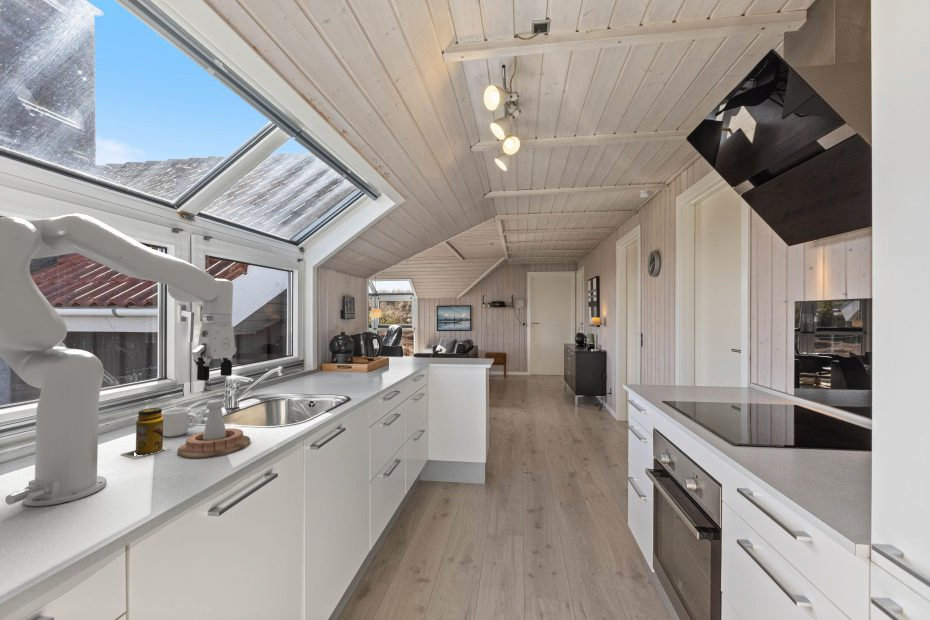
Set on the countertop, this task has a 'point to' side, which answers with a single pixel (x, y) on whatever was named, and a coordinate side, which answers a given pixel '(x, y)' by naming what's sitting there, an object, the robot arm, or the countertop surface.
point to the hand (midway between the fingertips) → (215, 377)
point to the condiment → (148, 433)
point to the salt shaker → (214, 421)
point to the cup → (177, 421)
